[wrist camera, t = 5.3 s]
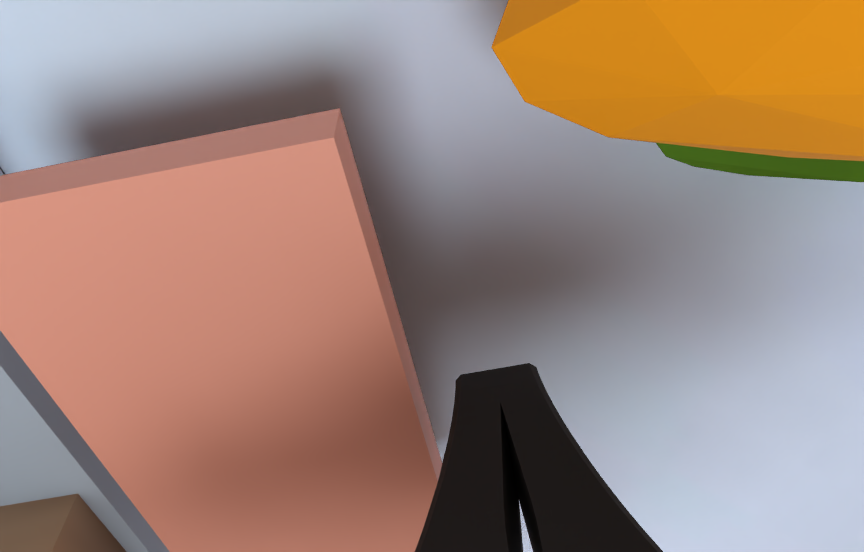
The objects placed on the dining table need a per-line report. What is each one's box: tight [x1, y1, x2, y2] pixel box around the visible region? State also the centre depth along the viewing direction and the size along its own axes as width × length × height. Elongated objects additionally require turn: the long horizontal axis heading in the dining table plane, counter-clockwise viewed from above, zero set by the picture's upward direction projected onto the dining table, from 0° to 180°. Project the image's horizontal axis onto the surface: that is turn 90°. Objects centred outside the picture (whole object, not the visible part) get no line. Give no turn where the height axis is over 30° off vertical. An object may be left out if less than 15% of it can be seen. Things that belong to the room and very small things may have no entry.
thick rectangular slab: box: [0, 108, 442, 552], centre depth 13 cm, size 11×1×6 cm
